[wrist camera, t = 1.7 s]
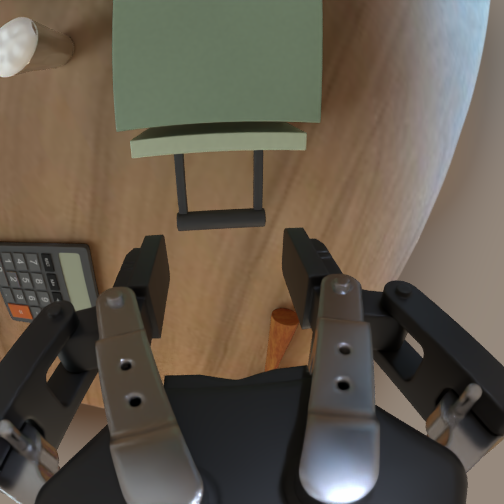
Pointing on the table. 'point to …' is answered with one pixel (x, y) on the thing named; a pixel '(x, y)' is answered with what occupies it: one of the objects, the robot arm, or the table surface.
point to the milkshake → (32, 47)
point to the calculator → (45, 277)
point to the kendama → (280, 335)
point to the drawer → (219, 139)
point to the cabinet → (216, 61)
